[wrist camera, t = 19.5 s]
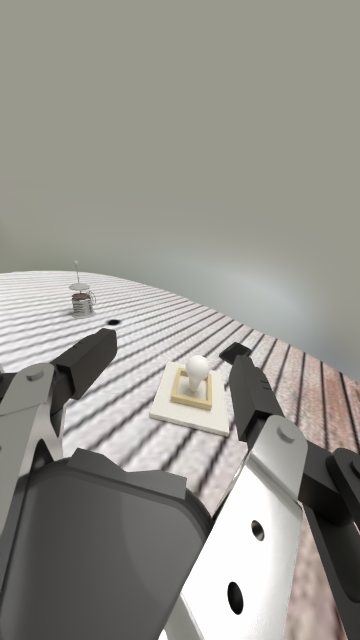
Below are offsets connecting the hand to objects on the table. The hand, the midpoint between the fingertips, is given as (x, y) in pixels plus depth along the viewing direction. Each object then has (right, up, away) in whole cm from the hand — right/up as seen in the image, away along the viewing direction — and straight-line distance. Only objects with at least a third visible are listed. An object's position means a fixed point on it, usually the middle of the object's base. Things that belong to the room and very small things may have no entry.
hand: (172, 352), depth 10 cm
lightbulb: (+4, -17, +32) cm, 36 cm away
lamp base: (+4, -18, +32) cm, 37 cm away
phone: (+23, -12, +52) cm, 58 cm away
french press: (-46, +5, +65) cm, 80 cm away
